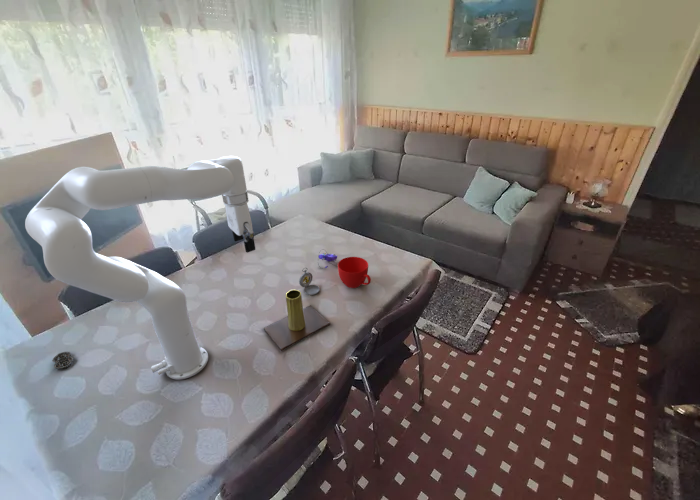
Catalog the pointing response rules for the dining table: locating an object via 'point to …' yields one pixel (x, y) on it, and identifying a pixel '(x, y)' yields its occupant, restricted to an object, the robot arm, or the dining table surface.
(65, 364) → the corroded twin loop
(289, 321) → the vase
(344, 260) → the ceramic cup
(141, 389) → the dining table surface
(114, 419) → the dining table surface
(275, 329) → the serving board
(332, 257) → the game controller
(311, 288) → the pocket watch
